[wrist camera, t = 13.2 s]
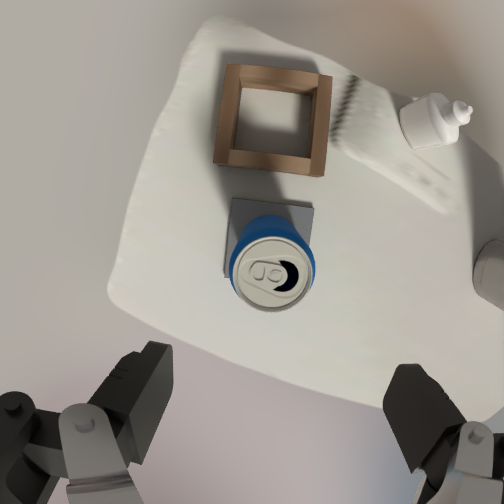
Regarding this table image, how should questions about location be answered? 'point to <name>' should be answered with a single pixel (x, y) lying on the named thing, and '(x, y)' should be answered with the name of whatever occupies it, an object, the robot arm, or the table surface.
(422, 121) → the eye dropper bottle
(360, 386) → the table surface
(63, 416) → the robot arm
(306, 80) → the walnut collar
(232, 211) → the rubber mat
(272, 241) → the beverage can
